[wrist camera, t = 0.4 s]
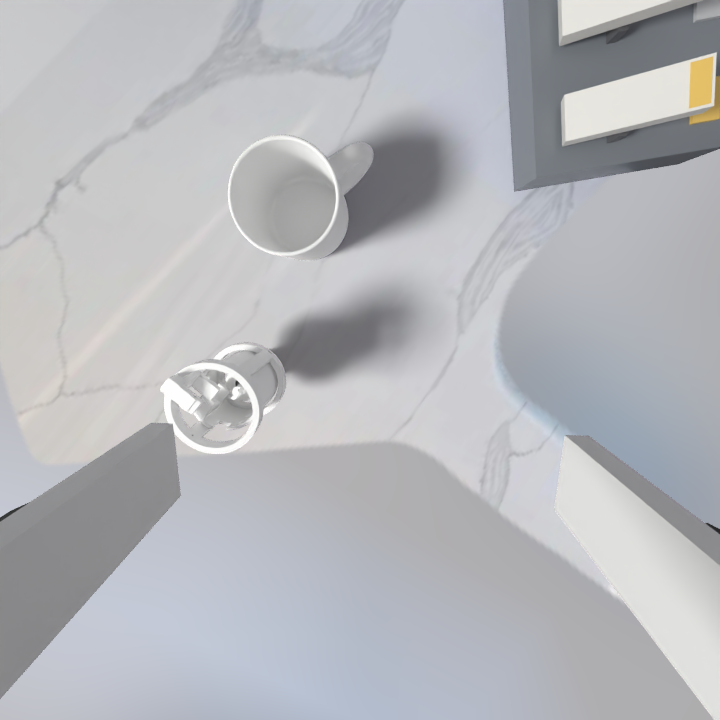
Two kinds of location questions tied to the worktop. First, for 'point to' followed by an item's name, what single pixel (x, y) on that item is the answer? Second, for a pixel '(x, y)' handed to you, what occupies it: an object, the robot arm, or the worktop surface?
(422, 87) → the worktop surface
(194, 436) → the white plastic fitting
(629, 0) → the switch
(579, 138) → the switch
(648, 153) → the switch unit
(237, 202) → the mug
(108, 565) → the robot arm
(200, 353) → the worktop surface
